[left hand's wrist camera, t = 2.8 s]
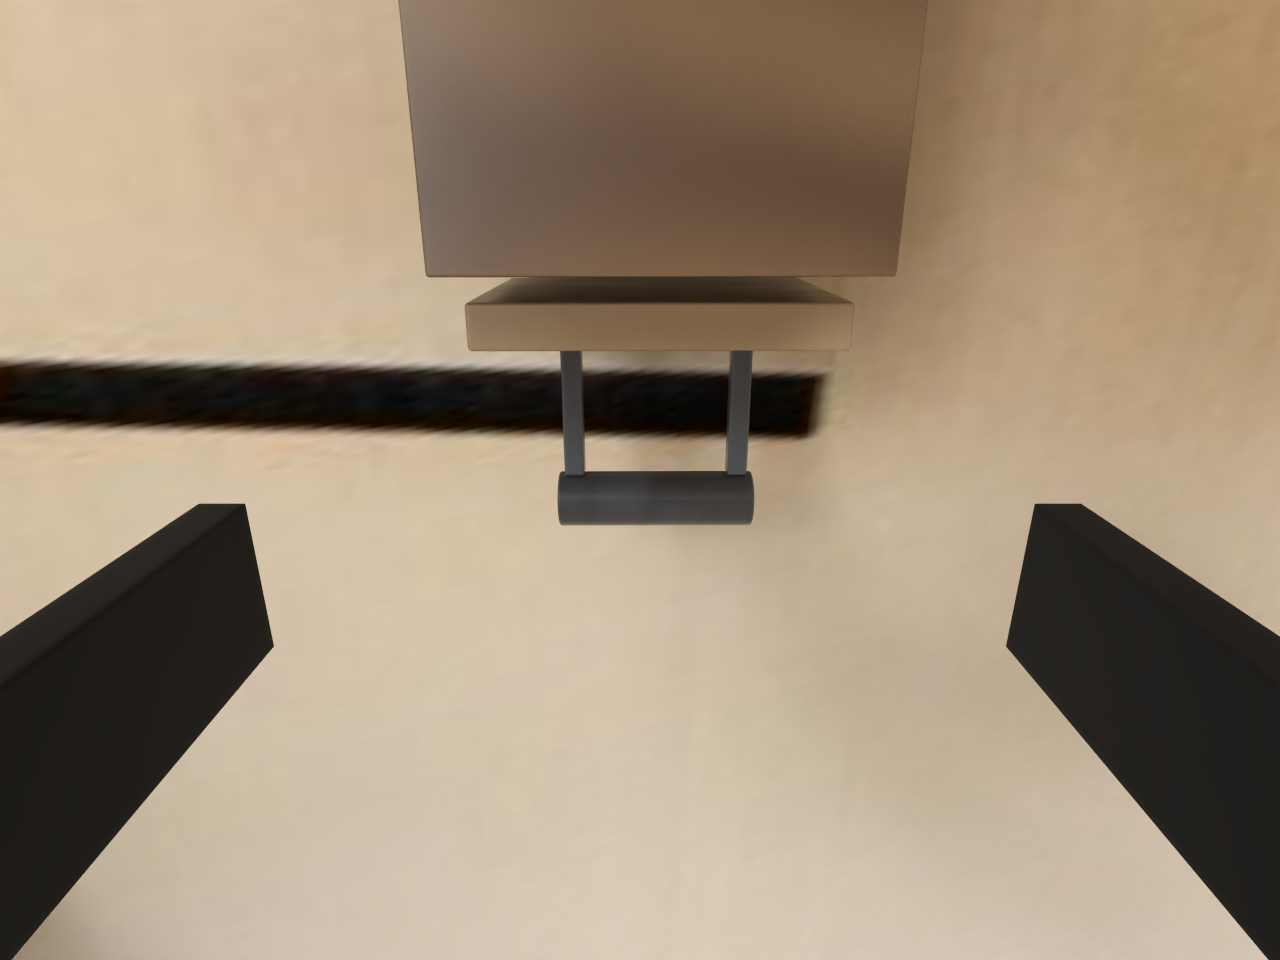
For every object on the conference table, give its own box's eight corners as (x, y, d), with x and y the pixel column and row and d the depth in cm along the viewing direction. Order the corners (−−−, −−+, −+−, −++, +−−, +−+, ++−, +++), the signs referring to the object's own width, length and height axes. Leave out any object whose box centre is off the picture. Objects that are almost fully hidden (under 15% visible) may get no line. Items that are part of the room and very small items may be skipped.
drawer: (782, 477, 27) (829, 566, 21) (522, 478, 27) (485, 566, 21) (834, -263, 20) (935, -504, 13) (478, -263, 20) (396, -505, 13)
